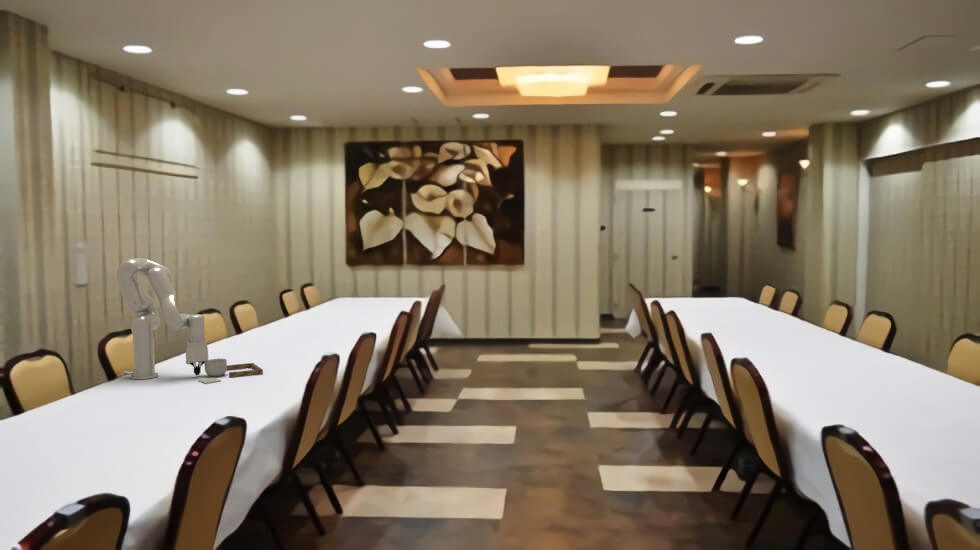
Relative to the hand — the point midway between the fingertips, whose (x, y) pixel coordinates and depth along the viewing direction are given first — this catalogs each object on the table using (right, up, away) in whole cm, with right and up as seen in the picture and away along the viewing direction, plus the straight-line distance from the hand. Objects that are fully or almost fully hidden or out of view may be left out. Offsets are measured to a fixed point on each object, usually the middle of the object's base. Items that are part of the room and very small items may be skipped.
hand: (197, 374), depth 359 cm
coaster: (+10, -3, -10) cm, 14 cm away
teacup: (+8, -1, +5) cm, 10 cm away
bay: (+18, -1, +11) cm, 21 cm away
